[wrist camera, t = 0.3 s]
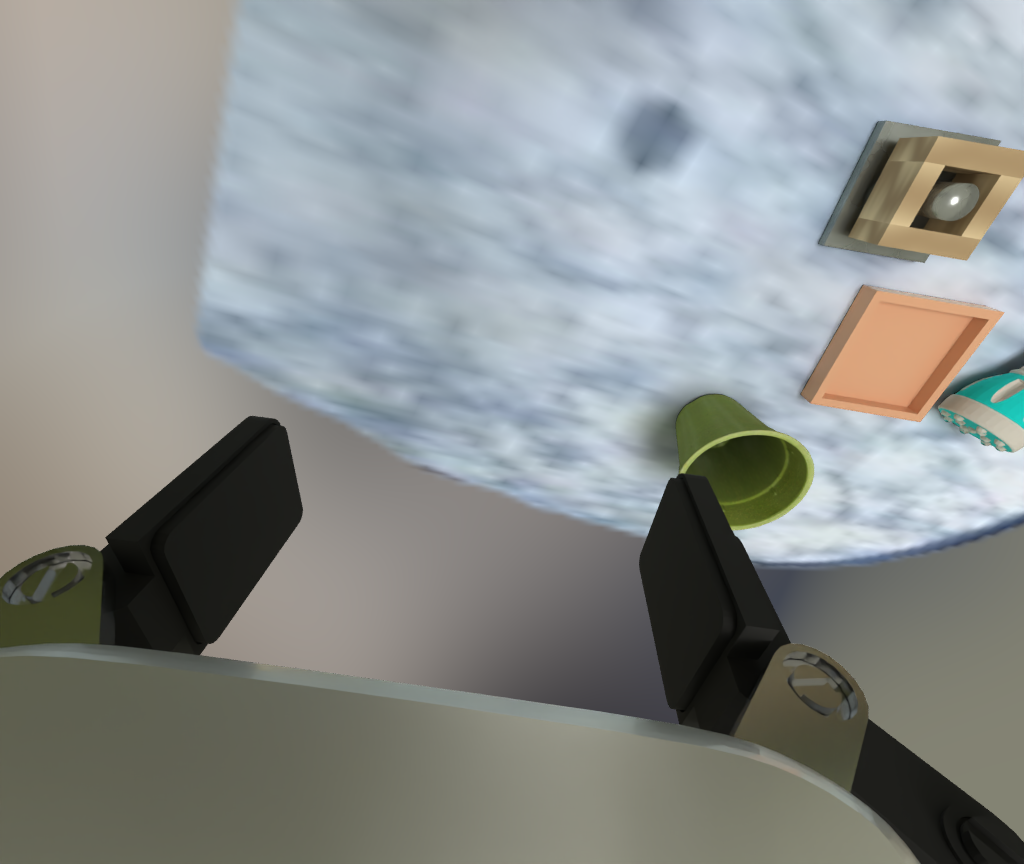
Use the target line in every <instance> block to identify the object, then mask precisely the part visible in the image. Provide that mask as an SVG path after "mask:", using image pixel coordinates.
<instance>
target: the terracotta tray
mask: <svg viewBox="0 0 1024 864" xmlns="http://www.w3.org/2000/svg"><path fill="white" fill-rule="evenodd" d="M1004 313H1005V312H1002V311H999V310H996V309H993V308H990V307H987V306H984V305H978V304H972V303H966V302H961V301H955V300H949V299H943V298H937V297H931V296H926V295H920V294H914V293H908V292H902V291H897V290H891V289H885V288H879V287H873V286H867V285H863V286H862V288H861V289H860V291H859V293H858V295H857V296H856V298H855V300H854V302H853V303H852V305H851V307H850V309H849V310H848V312H847V314H846V316H845V317H844V319H843V321H842V323H841V324H840V326H839V328H838V330H837V331H836V333H835V335H834V337H833V338H832V340H831V342H830V344H829V345H828V347H827V349H826V351H825V352H824V354H823V356H822V358H821V359H820V361H819V363H818V365H817V366H816V368H815V370H814V372H813V373H812V375H811V377H810V379H809V380H808V382H807V384H806V386H805V388H804V389H803V391H802V393H801V395H802V396H803V397H804V398H805V399H806V400H807V401H808V402H809V403H811V404H817V405H822V406H828V407H834V408H840V409H846V410H852V411H858V412H864V413H870V414H876V415H882V416H888V417H893V418H899V419H905V420H911V421H917V422H921V420H922V419H923V418H924V417H925V415H926V414H927V413H928V411H929V410H930V409H931V407H932V406H933V405H934V404H935V402H936V401H937V400H938V398H939V397H940V396H941V394H942V393H943V392H944V391H945V389H946V388H947V387H948V385H949V384H950V383H951V381H952V380H953V379H954V378H955V376H956V375H957V374H958V372H959V371H960V370H961V368H962V367H963V366H964V365H965V363H966V362H967V361H968V359H969V358H970V357H971V355H972V354H973V353H974V352H975V350H976V349H977V348H978V346H979V345H980V344H981V342H982V341H983V340H984V339H985V337H986V336H987V335H988V333H989V332H990V331H991V329H992V328H993V327H994V326H995V324H996V323H997V322H998V320H999V319H1000V318H1001V316H1002V315H1003V314H1004Z"/></svg>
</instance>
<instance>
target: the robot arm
mask: <svg viewBox="0 0 1024 864" xmlns="http://www.w3.org/2000/svg"><path fill="white" fill-rule="evenodd" d="M302 513H303V507H302V502H301V498H300V493H299V488H298V483H297V478H296V473H295V469H294V464H293V459H292V455H291V449H290V445H289V440H288V435H287V431H286V428H285V427H284V426H281V425H280V423H279V422H278V420H276V419H272V418H264V417H256V416H249V417H248V418H246V419H245V420H244V421H242V422H241V423H240V424H239V425H238V426H237V427H235V428H234V429H233V430H232V431H231V432H229V433H228V434H227V435H226V436H225V437H224V438H222V439H221V440H220V441H219V442H218V443H216V444H215V445H214V446H213V447H212V448H211V449H209V450H208V451H207V452H206V453H205V454H203V455H202V456H201V457H200V458H199V459H198V460H196V461H195V462H194V463H193V464H192V465H190V466H189V467H188V468H187V469H186V470H185V471H183V472H182V473H181V474H180V475H179V476H177V477H176V478H175V479H174V480H173V481H172V482H170V483H169V484H168V485H167V486H166V487H164V488H163V489H162V490H161V491H160V492H159V493H157V494H156V495H155V496H154V497H153V498H151V499H150V500H149V501H148V502H147V503H146V504H144V505H143V506H142V507H141V508H140V509H138V510H137V511H136V512H135V513H134V514H132V515H131V516H130V517H129V518H128V519H127V520H125V521H124V522H123V523H122V524H121V525H119V526H118V527H117V528H116V529H115V530H114V531H112V532H111V533H110V534H109V535H108V536H107V537H106V539H107V541H108V543H109V544H108V545H107V546H106V547H105V548H103V549H102V550H101V551H99V550H97V549H96V548H95V547H90V546H85V545H73V546H72V545H70V546H65V547H60V548H55V549H52V550H49V551H46V552H43V553H41V554H38V555H35V556H33V557H31V558H29V559H27V560H25V561H24V562H21V563H20V564H18V565H17V566H15V567H14V568H12V569H11V570H9V571H8V572H6V573H5V574H4V575H3V576H2V577H1V578H0V864H1024V842H1023V841H1022V840H1021V839H1020V838H1019V837H1018V836H1017V834H1016V833H1015V832H1014V831H1013V830H1012V829H1010V828H1009V827H1008V826H1007V825H1006V824H1005V823H1003V822H1002V821H1001V820H1000V819H999V818H998V817H996V816H995V815H994V814H993V813H992V812H990V811H989V810H988V809H986V808H985V807H984V806H982V805H981V804H980V803H978V802H977V801H976V800H974V799H973V798H972V797H971V796H969V795H968V794H966V793H965V792H964V791H963V790H961V789H960V788H959V787H957V786H956V785H955V784H953V783H952V782H951V781H950V780H948V779H947V778H946V777H944V776H943V775H941V774H940V773H939V772H938V771H936V770H935V769H934V768H932V767H931V766H930V765H929V764H927V763H926V762H925V761H923V760H922V759H921V758H919V757H918V756H917V755H915V754H914V753H912V752H911V751H910V750H909V749H907V748H906V747H905V746H904V745H902V744H901V743H899V742H898V741H897V740H896V739H894V738H893V737H892V736H890V735H889V734H888V733H886V732H885V731H884V730H883V729H881V728H880V727H878V726H877V725H876V724H875V723H873V722H872V721H871V720H869V707H868V703H867V701H866V698H865V695H864V693H863V691H862V690H861V688H860V687H859V685H858V683H857V682H856V680H855V679H854V678H853V677H852V676H851V675H850V674H849V673H848V671H846V670H845V668H844V667H843V666H841V665H840V664H839V663H837V662H836V661H835V660H834V659H832V658H831V657H830V656H828V655H826V654H825V653H823V652H821V651H819V650H817V649H815V648H812V647H809V646H806V645H803V644H792V643H791V642H790V641H789V638H788V636H787V634H786V632H785V630H784V628H783V626H782V624H781V622H780V620H779V618H778V616H777V614H776V612H775V610H774V608H773V605H772V604H771V601H770V600H769V597H768V595H767V593H766V591H765V589H764V587H763V585H762V583H761V581H760V579H759V577H758V575H757V573H756V571H755V569H754V566H753V564H752V562H751V560H750V558H749V556H748V554H747V552H746V550H745V548H744V546H743V544H742V542H741V541H740V539H739V538H738V537H736V536H735V535H734V533H733V531H732V529H731V527H730V525H729V523H728V521H727V518H726V516H725V514H724V512H723V510H722V508H721V506H720V504H719V502H718V500H717V497H716V495H715V493H714V491H713V489H712V487H711V485H710V483H709V481H708V479H707V478H706V477H705V476H700V475H693V474H685V473H680V474H679V475H678V476H677V478H670V480H669V481H668V484H667V486H666V489H665V491H664V494H663V497H662V499H661V502H660V504H659V507H658V510H657V512H656V515H655V518H654V520H653V523H652V525H651V528H650V531H649V533H648V536H647V539H646V541H645V544H644V546H643V549H642V552H641V555H640V560H639V567H640V573H641V578H642V583H643V588H644V593H645V597H646V602H647V606H648V612H649V617H650V621H651V626H652V631H653V636H654V641H655V646H656V650H657V655H658V660H659V665H660V670H661V675H662V680H663V684H664V689H665V694H666V699H667V702H668V705H669V707H670V708H671V709H676V711H677V716H678V721H679V725H678V724H672V723H665V722H660V721H654V720H648V719H641V718H635V717H628V716H623V715H617V714H611V713H605V712H599V711H592V710H585V709H578V708H571V707H565V706H558V705H551V704H544V703H537V702H530V701H523V700H517V699H510V698H502V697H496V696H489V695H482V694H475V693H468V692H461V691H455V690H447V689H440V688H433V687H426V686H419V685H412V684H405V683H398V682H391V681H384V680H377V679H370V678H362V677H355V676H348V675H341V674H334V673H327V672H319V671H312V670H305V669H297V668H289V667H283V666H275V665H268V664H260V663H253V662H246V661H238V660H231V659H224V658H216V657H209V656H201V655H200V654H201V653H202V651H203V650H204V649H205V647H206V646H207V644H211V643H214V642H215V641H216V640H217V639H218V638H219V637H220V635H221V634H222V633H223V631H224V630H225V628H226V627H227V625H228V624H229V623H230V621H231V620H232V618H233V617H234V615H235V614H236V613H237V611H238V610H239V608H240V607H241V605H242V604H243V602H244V601H245V600H246V598H247V597H248V595H249V594H250V592H251V591H252V589H253V588H254V587H255V585H256V584H257V582H258V581H259V580H260V578H261V577H262V575H263V574H264V572H265V571H266V570H267V568H268V567H269V565H270V564H271V562H272V561H273V560H274V558H275V557H276V555H277V553H278V552H279V550H280V549H281V548H282V547H283V545H284V544H285V542H286V541H287V540H288V538H289V537H290V535H291V534H292V532H293V531H294V530H295V528H296V527H297V525H298V524H299V522H300V520H301V517H302Z"/></svg>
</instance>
